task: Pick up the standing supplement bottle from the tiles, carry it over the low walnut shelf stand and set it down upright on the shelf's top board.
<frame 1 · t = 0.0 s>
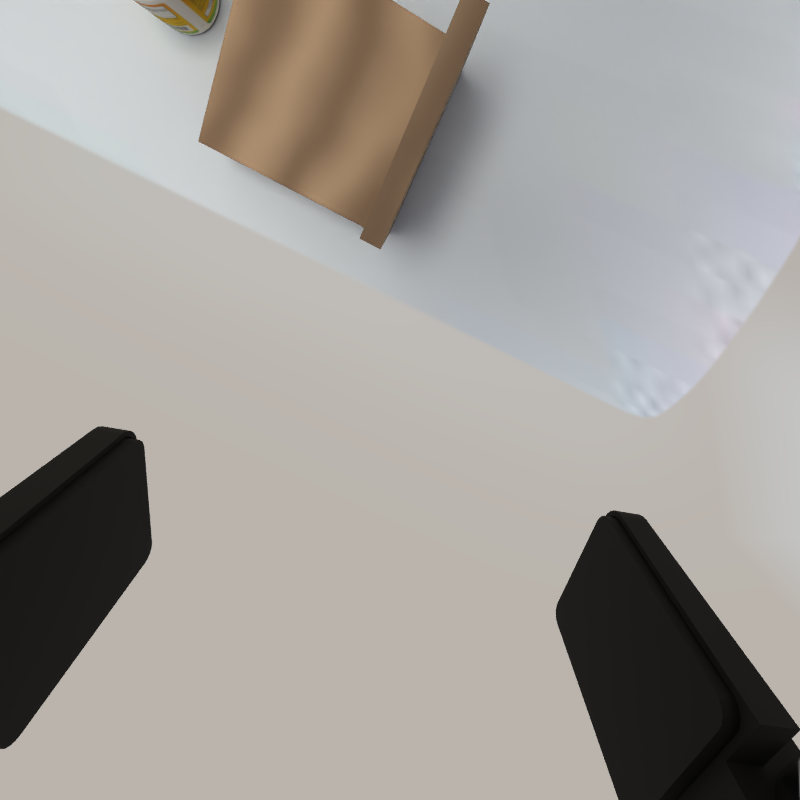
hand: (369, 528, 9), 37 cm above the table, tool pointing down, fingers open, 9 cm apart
shelf stand: (340, 112, 37), on the table
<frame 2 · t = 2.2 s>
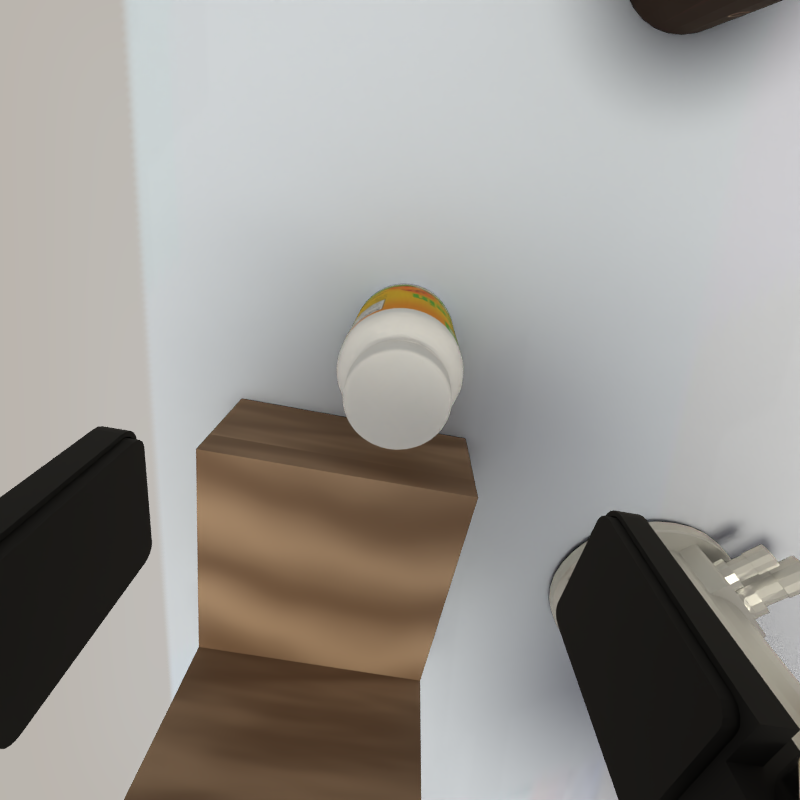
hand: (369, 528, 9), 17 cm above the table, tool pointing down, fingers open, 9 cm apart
supplement bottle: (404, 330, 25), on the table
shelf stand: (338, 519, 30), on the table
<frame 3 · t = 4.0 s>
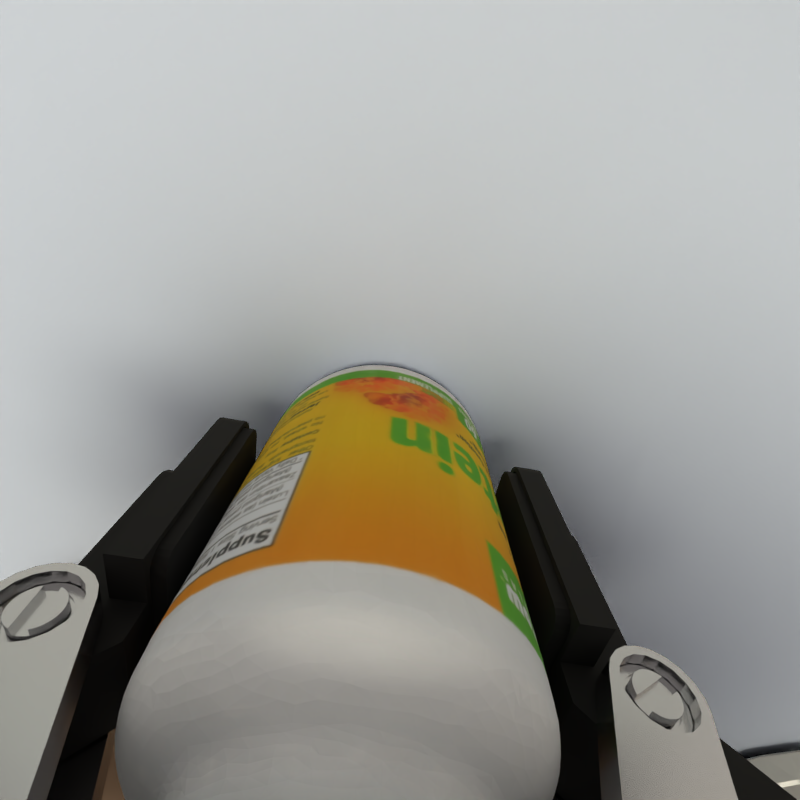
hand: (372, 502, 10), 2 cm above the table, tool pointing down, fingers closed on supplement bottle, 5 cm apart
supplement bottle: (379, 450, 12), on the table, touching gripper
shelf stand: (274, 739, 17), on the table
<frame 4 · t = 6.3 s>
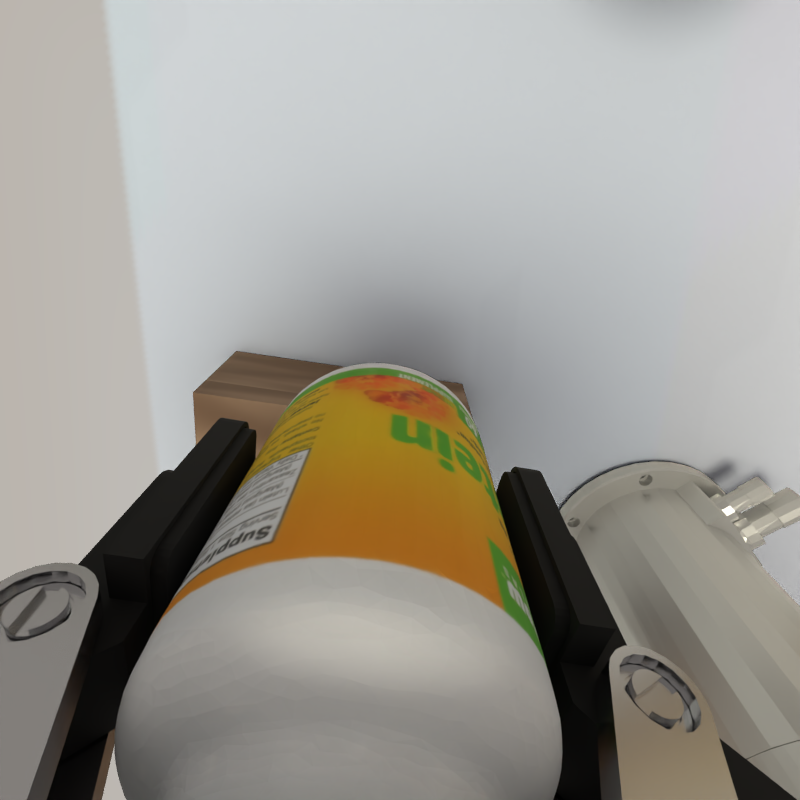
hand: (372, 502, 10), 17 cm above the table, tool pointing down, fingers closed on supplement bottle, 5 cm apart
supplement bottle: (379, 448, 12), point 15 cm above the table, touching gripper
shelf stand: (339, 473, 30), on the table
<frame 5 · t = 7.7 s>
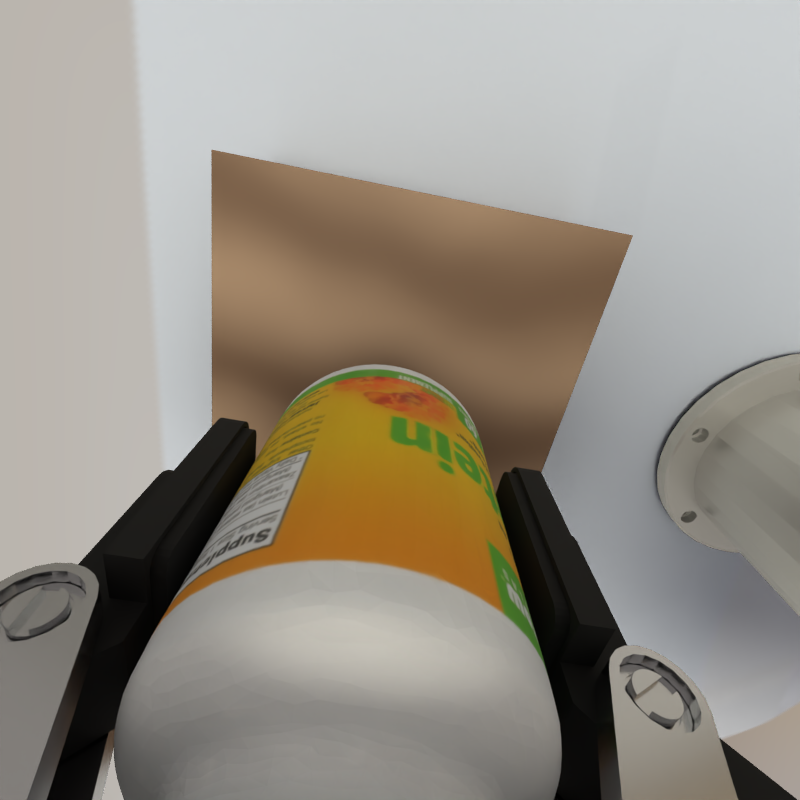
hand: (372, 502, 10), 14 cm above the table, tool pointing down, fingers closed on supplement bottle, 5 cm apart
supplement bottle: (379, 450, 12), point 12 cm above the table, touching gripper
shelf stand: (392, 359, 23), on the table
when the fingers open (9 cm above the table, at t = 8.9 s): supplement bottle stays where it is, resting on shelf stand.
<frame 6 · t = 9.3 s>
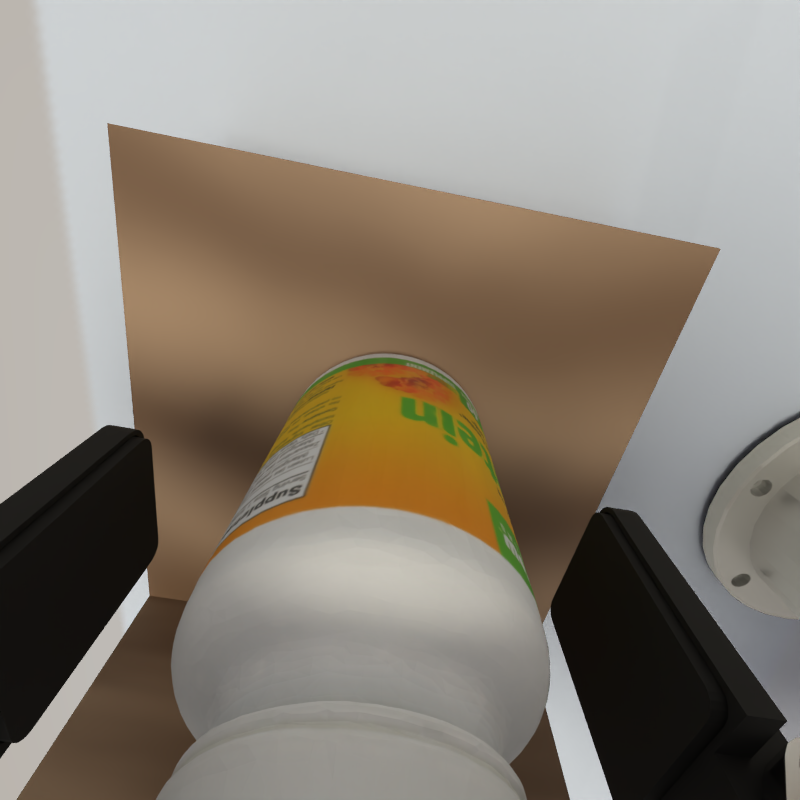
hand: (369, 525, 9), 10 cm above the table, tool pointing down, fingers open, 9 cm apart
supplement bottle: (386, 434, 13), point 6 cm above the table, touching shelf stand
shelf stand: (383, 396, 18), on the table
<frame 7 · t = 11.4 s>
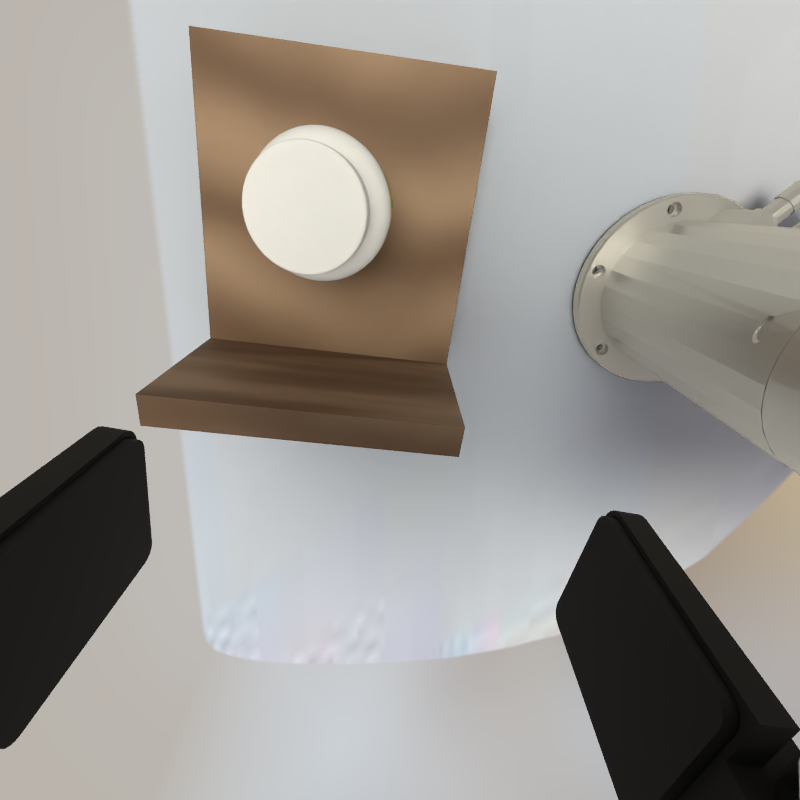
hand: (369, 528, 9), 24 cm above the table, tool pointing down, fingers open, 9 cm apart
supplement bottle: (341, 205, 23), point 6 cm above the table, touching shelf stand
shelf stand: (347, 228, 28), on the table
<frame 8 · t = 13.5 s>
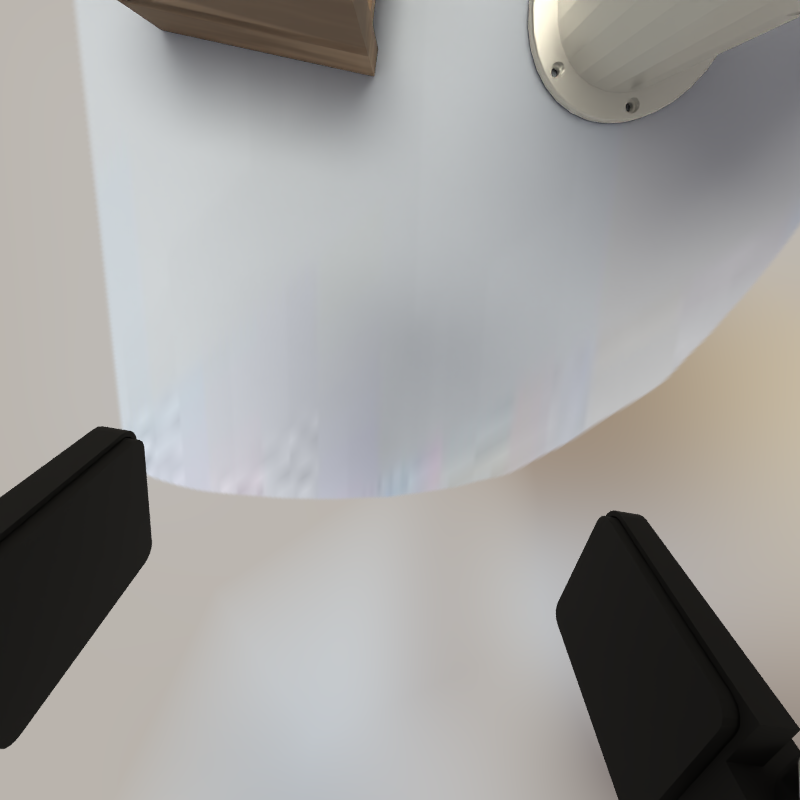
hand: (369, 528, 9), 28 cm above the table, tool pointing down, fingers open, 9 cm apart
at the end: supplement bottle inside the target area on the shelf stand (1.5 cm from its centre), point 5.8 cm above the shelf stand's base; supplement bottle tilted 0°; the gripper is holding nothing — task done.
